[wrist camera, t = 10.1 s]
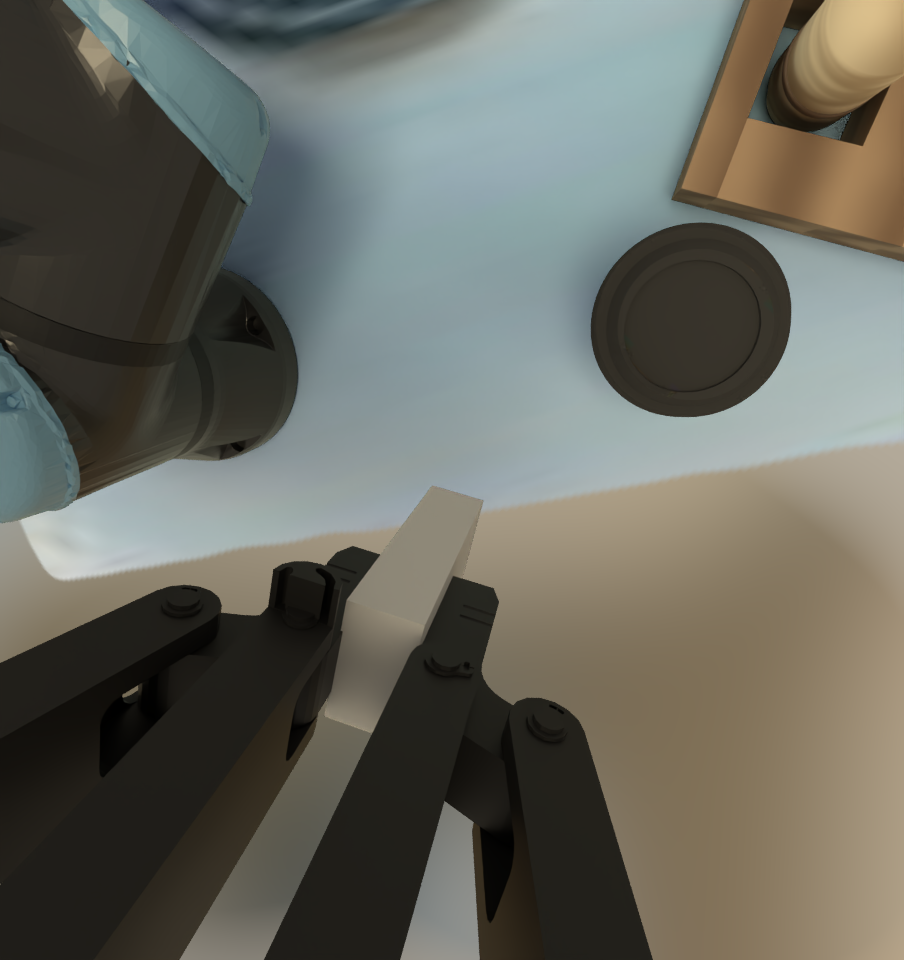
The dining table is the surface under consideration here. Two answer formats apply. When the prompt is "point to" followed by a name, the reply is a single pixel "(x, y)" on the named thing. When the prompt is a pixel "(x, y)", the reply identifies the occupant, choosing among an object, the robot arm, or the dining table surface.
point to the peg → (837, 63)
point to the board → (796, 151)
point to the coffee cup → (691, 320)
